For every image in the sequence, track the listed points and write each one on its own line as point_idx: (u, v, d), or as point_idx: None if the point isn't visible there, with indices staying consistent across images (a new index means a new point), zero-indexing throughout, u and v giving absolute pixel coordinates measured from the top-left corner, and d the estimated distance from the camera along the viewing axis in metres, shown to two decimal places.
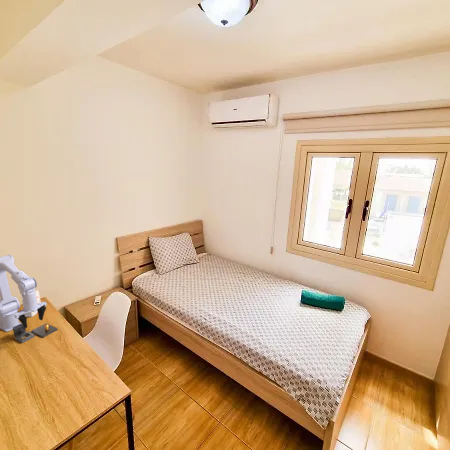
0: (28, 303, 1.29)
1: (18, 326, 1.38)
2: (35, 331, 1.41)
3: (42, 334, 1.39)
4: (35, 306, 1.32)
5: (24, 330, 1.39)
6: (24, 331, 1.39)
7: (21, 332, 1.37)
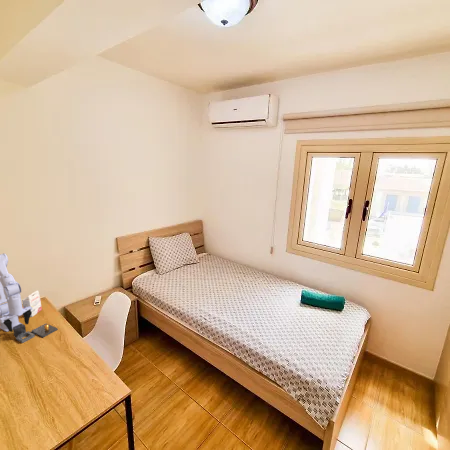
0: (13, 308, 1.33)
1: (18, 326, 1.38)
2: (35, 331, 1.41)
3: (42, 334, 1.39)
4: (20, 311, 1.35)
5: (24, 330, 1.39)
6: (24, 331, 1.39)
7: (21, 332, 1.37)
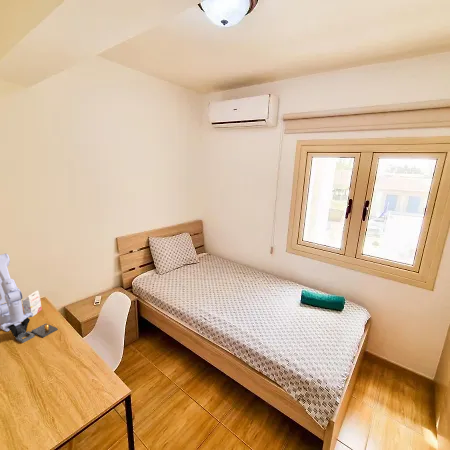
0: (14, 314, 1.33)
1: (18, 326, 1.38)
2: (35, 331, 1.41)
3: (42, 334, 1.39)
4: (21, 317, 1.36)
5: (24, 330, 1.39)
6: (24, 331, 1.39)
7: (21, 332, 1.37)
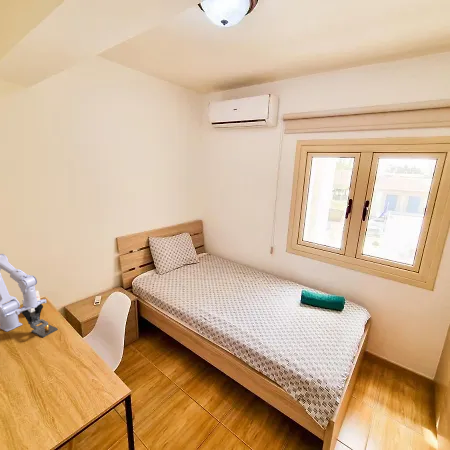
0: (28, 300, 1.35)
1: (32, 313, 1.39)
2: (35, 331, 1.41)
3: (42, 334, 1.39)
4: (35, 303, 1.38)
5: (38, 318, 1.40)
6: (38, 318, 1.40)
7: (35, 319, 1.39)
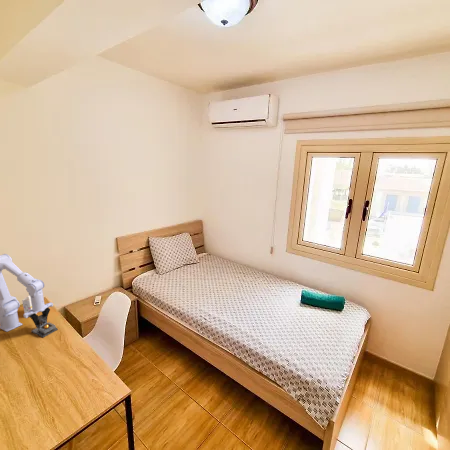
0: (36, 304, 1.38)
1: (40, 317, 1.42)
2: (35, 331, 1.41)
3: (42, 334, 1.39)
4: (42, 306, 1.41)
5: (45, 321, 1.44)
6: (45, 322, 1.44)
7: (43, 323, 1.42)
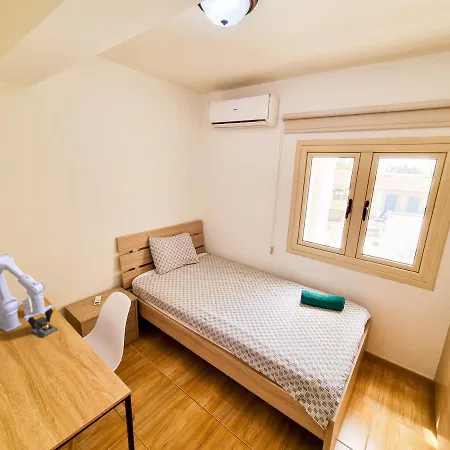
0: (36, 306, 1.39)
1: (40, 319, 1.43)
2: (35, 331, 1.41)
3: (42, 334, 1.39)
4: (43, 309, 1.41)
5: (46, 323, 1.44)
6: None
7: (43, 325, 1.43)
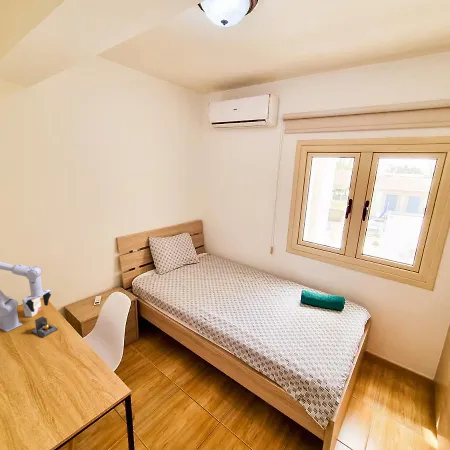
0: (35, 289, 1.44)
1: (40, 319, 1.43)
2: (35, 331, 1.41)
3: (42, 334, 1.39)
4: (41, 292, 1.47)
5: (46, 323, 1.44)
6: None
7: (43, 325, 1.43)
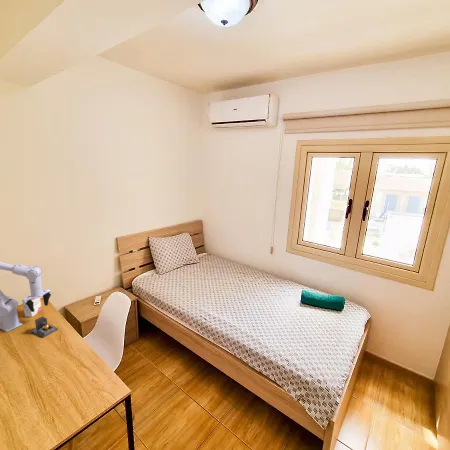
0: (35, 289, 1.44)
1: (40, 319, 1.43)
2: (35, 331, 1.41)
3: (42, 334, 1.39)
4: (41, 292, 1.47)
5: (46, 323, 1.44)
6: None
7: (43, 325, 1.43)
